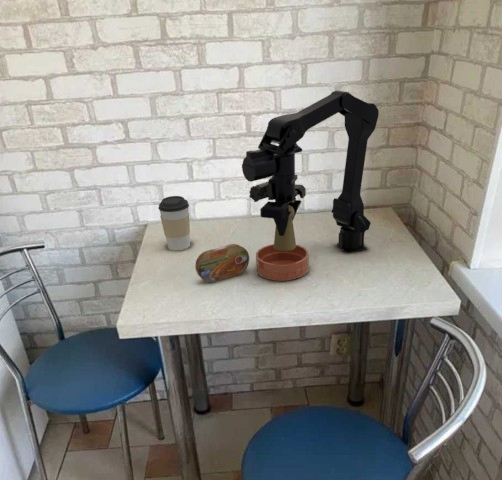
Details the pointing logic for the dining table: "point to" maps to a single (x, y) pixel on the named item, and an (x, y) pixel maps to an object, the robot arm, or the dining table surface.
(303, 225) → the dining table surface
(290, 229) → the cork
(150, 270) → the dining table surface
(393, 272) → the dining table surface
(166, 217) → the coffee cup
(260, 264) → the bowl
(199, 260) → the tin
